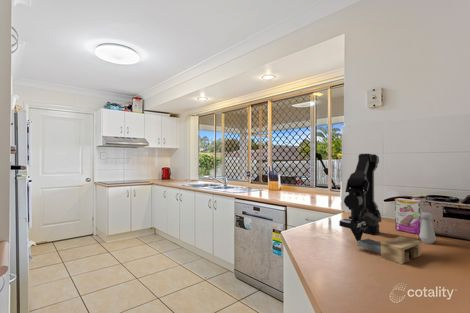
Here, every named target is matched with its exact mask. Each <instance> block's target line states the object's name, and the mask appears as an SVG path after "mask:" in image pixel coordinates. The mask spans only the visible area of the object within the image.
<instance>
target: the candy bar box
mask: <svg viewBox="0 0 470 313" xmlns="http://www.w3.org/2000/svg"><path fill="white" fill-rule="evenodd" d="M394 210H395V212H394V214H395V219H394V220H395V227H394V228H395V230H396V231H400V232H404V233H409V234H415V235H418V236H419V235H420V229H421V224H422V219H423V218H421V213H424V201H423V200H416V199H410V198H409V199H408V198H401V197H400V198H394Z"/></svg>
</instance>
